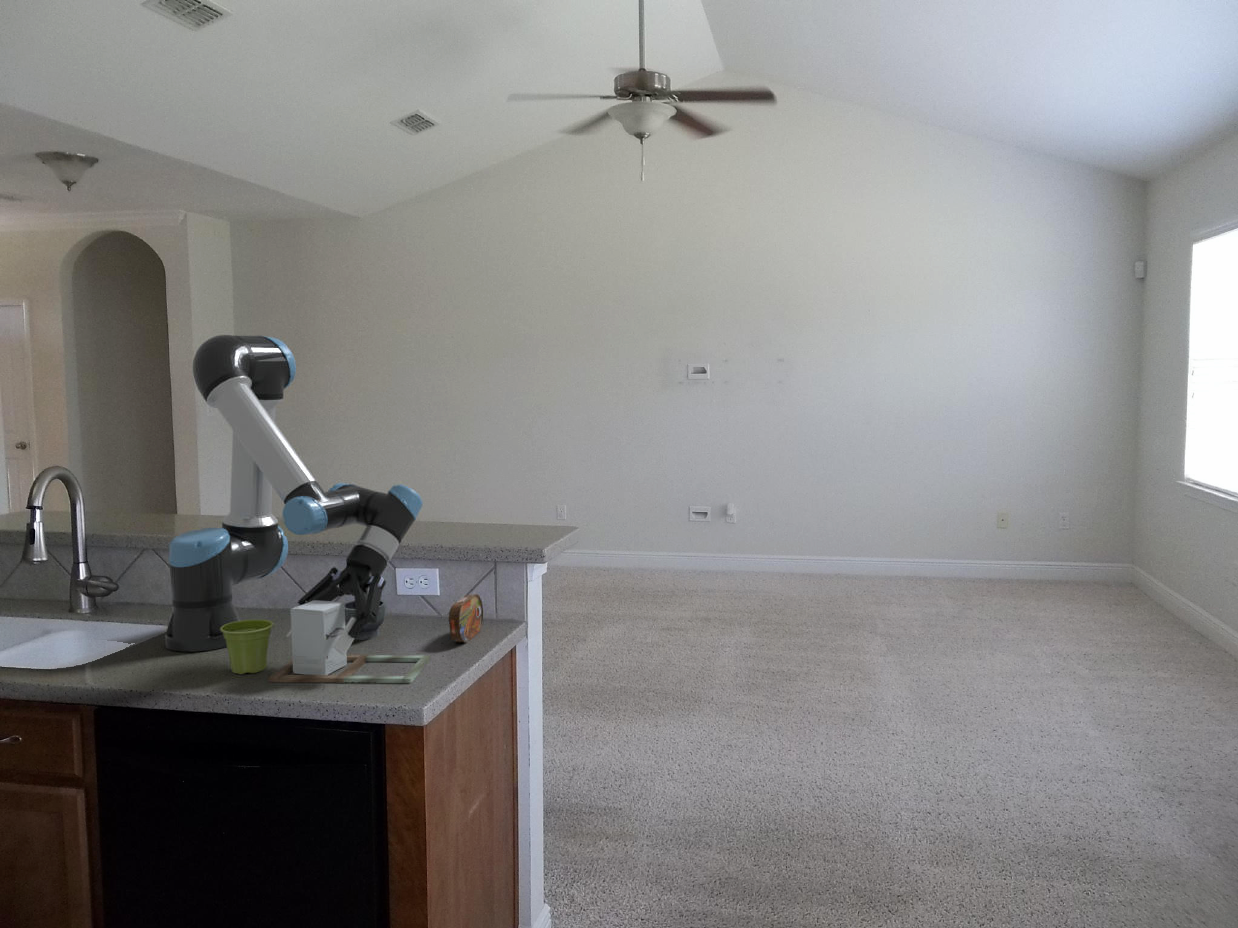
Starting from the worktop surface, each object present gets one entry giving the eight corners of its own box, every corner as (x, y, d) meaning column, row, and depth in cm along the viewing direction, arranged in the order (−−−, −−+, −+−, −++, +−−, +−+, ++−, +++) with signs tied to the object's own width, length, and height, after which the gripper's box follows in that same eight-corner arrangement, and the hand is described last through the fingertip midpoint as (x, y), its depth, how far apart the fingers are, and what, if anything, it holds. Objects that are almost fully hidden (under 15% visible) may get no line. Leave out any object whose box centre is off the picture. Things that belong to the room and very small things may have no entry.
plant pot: (250, 659, 189) (247, 616, 188) (286, 665, 185) (283, 621, 184) (211, 673, 181) (209, 628, 180) (248, 680, 176) (245, 634, 176)
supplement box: (325, 677, 177) (322, 610, 176) (291, 673, 179) (288, 608, 178) (348, 665, 184) (345, 601, 183) (316, 662, 186) (313, 598, 185)
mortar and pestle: (363, 644, 198) (361, 587, 197) (331, 638, 203) (329, 583, 202) (401, 631, 208) (399, 577, 207) (370, 625, 213) (368, 573, 212)
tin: (461, 647, 195) (460, 607, 195) (447, 647, 196) (445, 606, 195) (485, 627, 210) (483, 590, 209) (471, 627, 211) (470, 589, 210)
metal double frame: (269, 681, 175) (268, 677, 175) (299, 658, 189) (299, 654, 189) (410, 682, 174) (410, 678, 173) (430, 659, 187) (430, 655, 187)
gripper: (427, 570, 186) (371, 666, 175) (341, 558, 200) (284, 646, 189) (405, 548, 181) (347, 645, 171) (319, 537, 195) (260, 626, 184)
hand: (314, 646), depth 180 cm, fingers open, 13 cm apart
